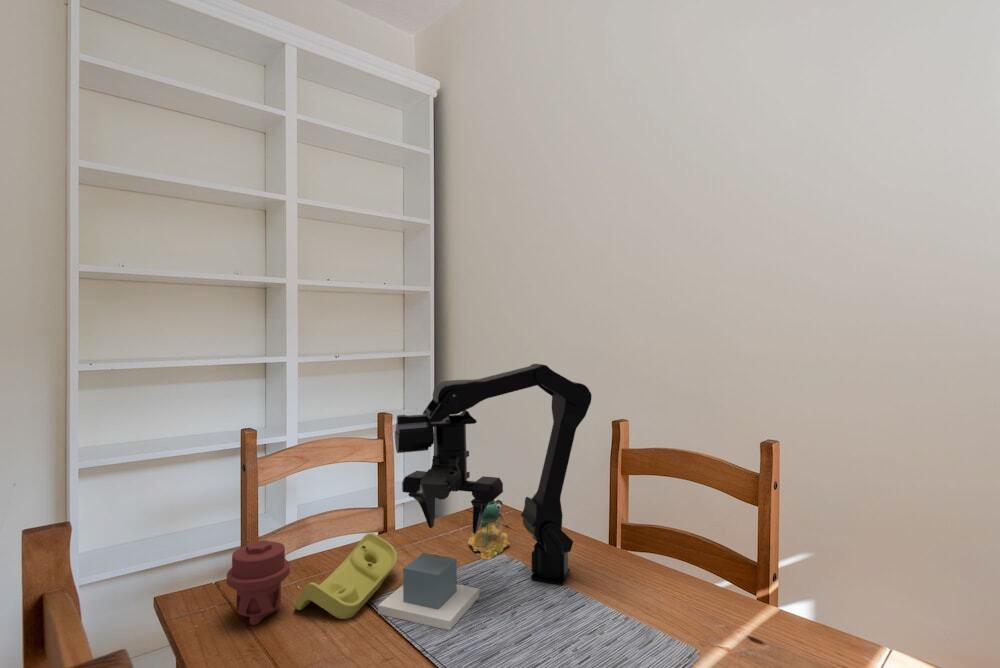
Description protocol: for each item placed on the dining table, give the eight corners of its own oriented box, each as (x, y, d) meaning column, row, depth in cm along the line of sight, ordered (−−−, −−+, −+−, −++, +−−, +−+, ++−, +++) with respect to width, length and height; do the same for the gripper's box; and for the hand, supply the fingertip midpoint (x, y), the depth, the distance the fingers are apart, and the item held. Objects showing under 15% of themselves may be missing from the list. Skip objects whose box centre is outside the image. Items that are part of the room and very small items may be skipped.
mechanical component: (295, 598, 99) (282, 628, 89) (237, 603, 97) (218, 633, 87) (295, 531, 99) (282, 554, 89) (237, 535, 97) (217, 558, 87)
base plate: (479, 596, 99) (479, 572, 99) (449, 630, 88) (449, 603, 88) (413, 583, 105) (413, 560, 105) (378, 613, 93) (378, 588, 93)
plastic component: (352, 610, 90) (303, 578, 92) (336, 646, 92) (289, 613, 94) (405, 553, 110) (364, 527, 112) (392, 583, 111) (352, 557, 113)
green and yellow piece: (511, 529, 133) (512, 472, 131) (508, 570, 115) (509, 504, 114) (473, 528, 134) (473, 471, 132) (464, 568, 116) (464, 503, 114)
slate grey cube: (456, 591, 98) (456, 558, 98) (438, 609, 92) (438, 574, 92) (423, 584, 101) (423, 552, 101) (403, 602, 95) (403, 568, 94)
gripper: (385, 454, 97) (387, 540, 97) (480, 461, 90) (482, 553, 91) (415, 441, 107) (417, 519, 108) (503, 447, 101) (504, 529, 101)
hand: (453, 530), depth 102 cm, fingers open, 9 cm apart
